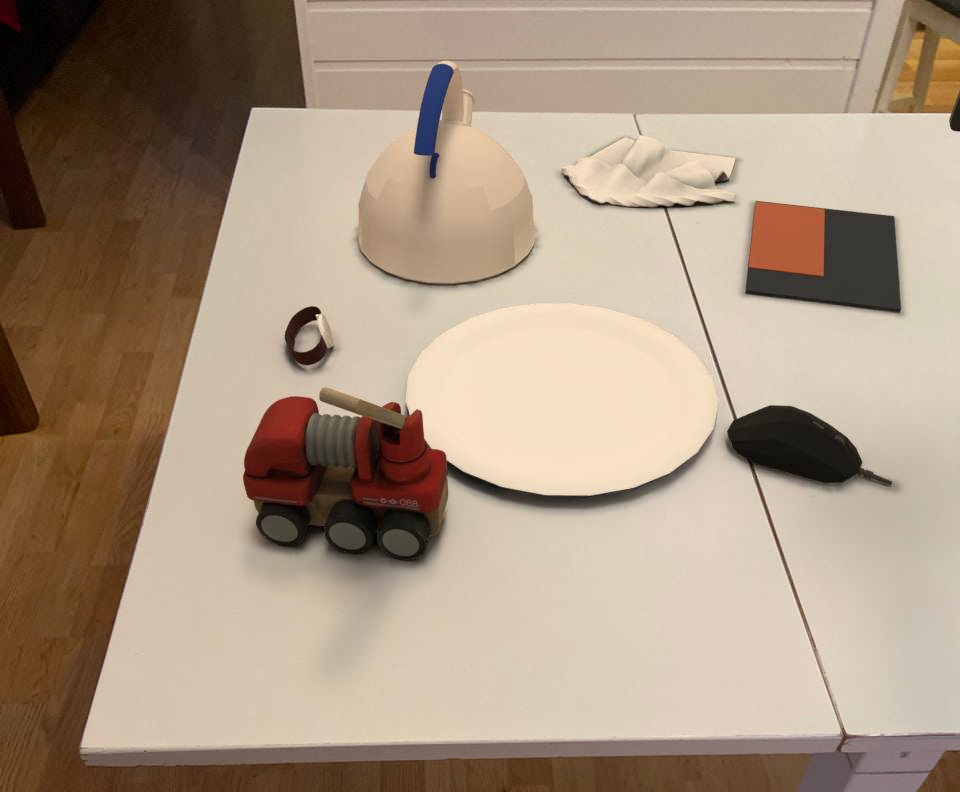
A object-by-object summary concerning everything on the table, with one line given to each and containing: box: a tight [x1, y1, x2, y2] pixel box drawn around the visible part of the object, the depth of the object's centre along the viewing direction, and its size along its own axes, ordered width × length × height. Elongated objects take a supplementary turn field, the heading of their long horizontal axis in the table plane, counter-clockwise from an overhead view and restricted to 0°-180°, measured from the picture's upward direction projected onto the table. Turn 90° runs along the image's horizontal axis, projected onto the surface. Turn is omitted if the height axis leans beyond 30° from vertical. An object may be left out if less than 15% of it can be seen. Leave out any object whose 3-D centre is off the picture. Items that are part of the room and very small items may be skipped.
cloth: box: [560, 134, 736, 208], centre depth 118 cm, size 20×22×2 cm
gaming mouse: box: [726, 404, 893, 486], centre depth 84 cm, size 6×15×4 cm, turn 62°
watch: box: [284, 305, 335, 366], centre depth 95 cm, size 8×5×4 cm, turn 7°
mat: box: [744, 200, 902, 314], centre depth 108 cm, size 16×20×1 cm
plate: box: [405, 302, 720, 498], centre depth 90 cm, size 29×29×2 cm
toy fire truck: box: [242, 386, 449, 561], centre depth 73 cm, size 11×16×18 cm
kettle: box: [357, 60, 536, 285], centre depth 103 cm, size 20×21×18 cm
